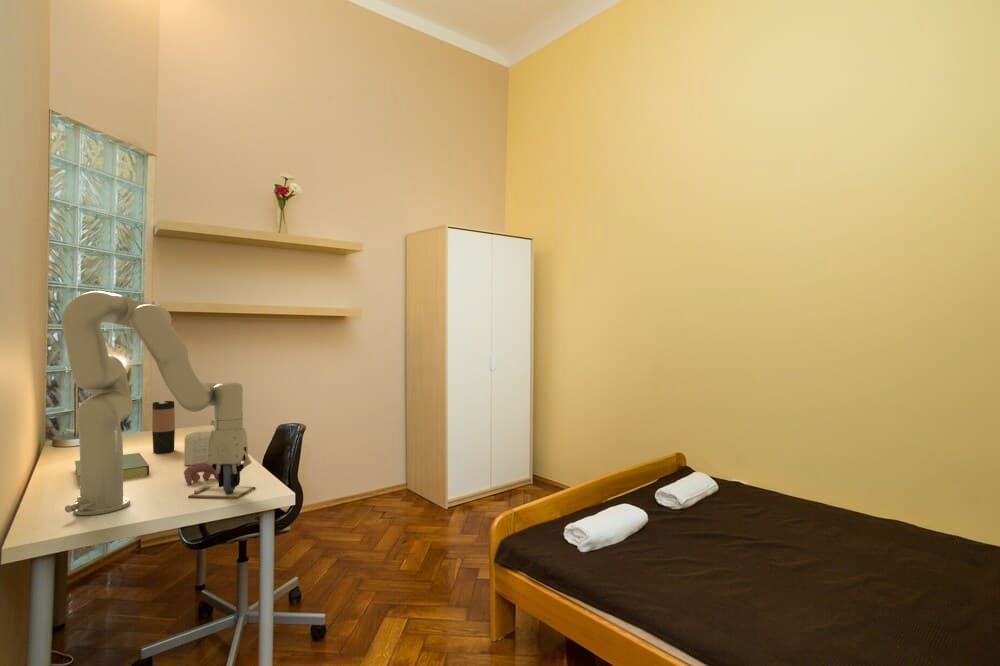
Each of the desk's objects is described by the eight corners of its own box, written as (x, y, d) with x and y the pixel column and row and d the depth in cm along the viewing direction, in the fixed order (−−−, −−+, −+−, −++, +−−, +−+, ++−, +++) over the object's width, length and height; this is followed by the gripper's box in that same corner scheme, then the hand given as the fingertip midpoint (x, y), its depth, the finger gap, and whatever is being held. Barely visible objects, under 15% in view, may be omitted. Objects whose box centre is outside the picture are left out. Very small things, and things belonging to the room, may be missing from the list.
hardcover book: (149, 476, 178) (149, 465, 178) (78, 487, 166) (78, 475, 166) (138, 462, 197) (138, 452, 197) (74, 471, 184) (74, 460, 184)
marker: (231, 494, 154) (231, 457, 154) (220, 494, 154) (220, 457, 154) (238, 491, 157) (237, 454, 157) (227, 490, 158) (227, 454, 158)
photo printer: (217, 461, 196) (216, 428, 196) (215, 463, 192) (215, 430, 192) (185, 464, 192) (185, 430, 192) (183, 466, 188) (183, 432, 188)
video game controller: (217, 481, 175) (214, 461, 177) (221, 478, 172) (218, 457, 174) (184, 488, 168) (181, 467, 170) (187, 484, 165) (184, 463, 167)
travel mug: (167, 453, 207) (166, 403, 207) (147, 453, 207) (147, 403, 207) (179, 449, 215) (178, 400, 215) (160, 449, 215) (160, 400, 215)
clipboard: (237, 499, 153) (237, 494, 153) (188, 497, 154) (188, 493, 154) (255, 488, 163) (255, 484, 163) (209, 487, 164) (209, 483, 164)
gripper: (194, 426, 152) (194, 489, 153) (248, 427, 151) (248, 490, 151) (210, 421, 160) (210, 481, 160) (262, 422, 159) (262, 482, 159)
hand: (229, 485), depth 156 cm, fingers closed on marker, 3 cm apart
